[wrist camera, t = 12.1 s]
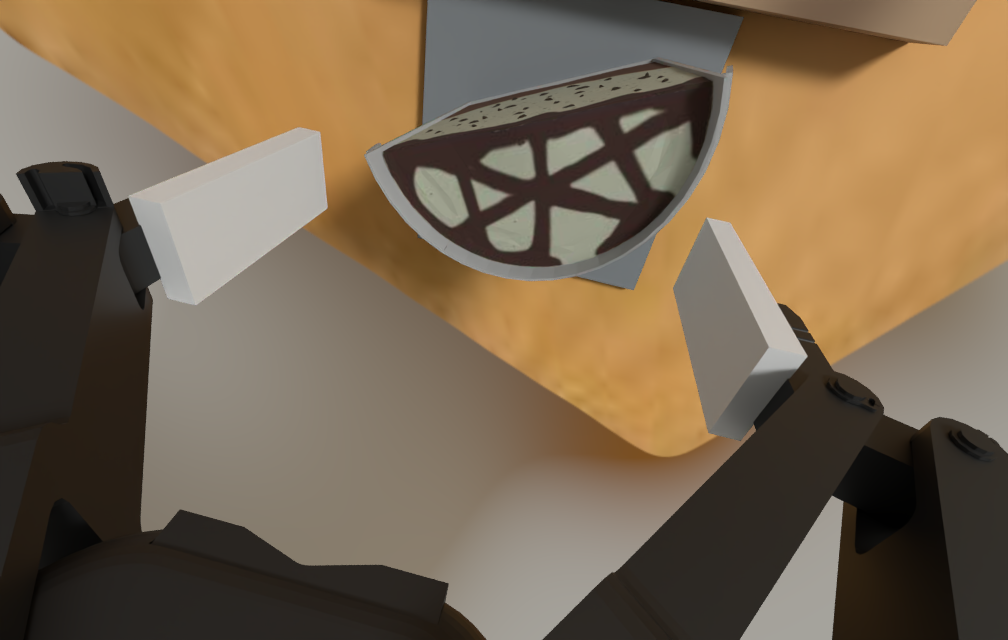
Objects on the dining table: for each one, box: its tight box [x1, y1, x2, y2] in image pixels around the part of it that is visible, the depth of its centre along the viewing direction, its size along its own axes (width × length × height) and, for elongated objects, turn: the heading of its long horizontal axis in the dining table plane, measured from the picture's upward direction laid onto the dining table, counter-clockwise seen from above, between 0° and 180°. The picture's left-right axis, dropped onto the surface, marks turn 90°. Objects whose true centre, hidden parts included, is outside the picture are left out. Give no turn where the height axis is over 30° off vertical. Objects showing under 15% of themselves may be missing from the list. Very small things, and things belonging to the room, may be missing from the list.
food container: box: [364, 57, 733, 281], centre depth 19 cm, size 12×6×10 cm, turn 103°
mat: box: [418, 0, 744, 290], centre depth 23 cm, size 14×14×1 cm
